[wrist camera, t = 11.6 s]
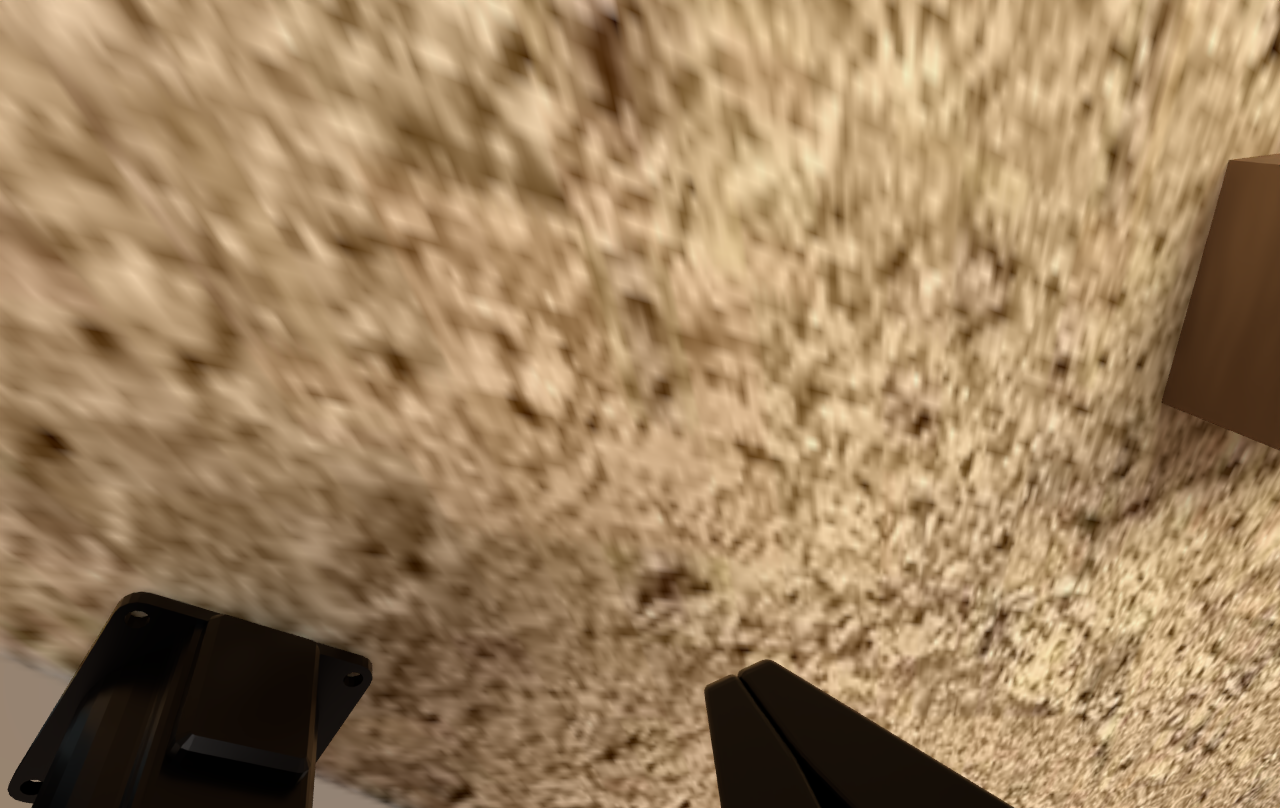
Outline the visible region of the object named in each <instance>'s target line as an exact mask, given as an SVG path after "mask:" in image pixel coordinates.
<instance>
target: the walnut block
mask: <svg viewBox="0 0 1280 808" xmlns="http://www.w3.org/2000/svg"><path fill="white" fill-rule="evenodd" d="M1162 403H1164V404H1166V405H1169V406H1171V407H1174V408H1176V409H1179V410H1181V411H1184V412H1186V413H1189V414H1191V415H1194V416H1196V417H1199V418H1201V419H1203V420H1206V421H1208V422H1211V423H1213V424H1216V425H1218V426H1221V427H1223V428H1226V429H1228V430H1231V431H1233V432H1236V433H1238V434H1241V435H1243V436H1246V437H1248V438H1250V439H1253V440H1255V441H1258V442H1260V443H1263V444H1265V445H1268V446H1270V447H1273V448H1275V449H1278V450H1280V154H1273V155H1265V156H1258V157H1250V158H1242V159H1234V160H1229V163H1228V167H1227V170H1226V174H1225V177H1224V181H1223V184H1222V188H1221V192H1220V195H1219V199H1218V202H1217V206H1216V209H1215V213H1214V217H1213V220H1212V224H1211V227H1210V231H1209V235H1208V238H1207V242H1206V245H1205V249H1204V252H1203V256H1202V260H1201V263H1200V267H1199V270H1198V274H1197V277H1196V281H1195V285H1194V288H1193V292H1192V295H1191V299H1190V303H1189V306H1188V310H1187V313H1186V317H1185V320H1184V324H1183V328H1182V331H1181V335H1180V338H1179V342H1178V345H1177V349H1176V353H1175V356H1174V360H1173V363H1172V367H1171V371H1170V374H1169V378H1168V381H1167V385H1166V388H1165V392H1164V396H1163V399H1162Z"/></svg>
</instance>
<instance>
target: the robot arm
mask: <svg viewBox="0 0 1280 808" xmlns="http://www.w3.org/2000/svg"><path fill="white" fill-rule="evenodd" d="M132 611H143V612H145V613H146V614H148V616H147V617H143V618H141V617H135V616H133V615H131V613H130V612H132ZM352 672H356V673H360V674H359V675H358V676H355V677H349V676H347V674H349V673H352ZM371 681H372V663H371V662H370V661H369V659H367V658H365V657H363V656H361V655H357V654H354V653H351V652H347V651H344V650H341V649H337V648H334V647H330V646H327V645H324V644H320V643H317V642H315V641H313V640H309V639H306V638H303V637H299V636H296V635H293V634H289V633H286V632H282V631H279V630H276V629H272V628H269V627H266V626H262V625H259V624H256V623H252V622H249V621H245V620H242V619H239V618H235V617H232V616H229V615H223V614H219V613H216V612H213V611H209V610H206V609H203V608H199V607H196V606H192V605H189V604H186V603H182V602H179V601H176V600H172V599H169V598H166V597H162V596H159V595H155V594H152V593H146V592H138V593H132V594H130V595H127V596H125V597H124V598H123V599H122V600H121V601H120V602H119V603H118V605H117V606H116V608H115V610H114V611H113V613H112V615H111V616H110V618H109V619H108V621H107V623H106V624H105V626H104V628H103V629H102V631H101V632H100V634H99V636H98V637H97V639H96V641H95V642H94V644H93V646H92V647H91V649H90V650H89V652H88V654H87V655H86V657H85V659H84V660H83V662H82V663H81V665H80V667H79V668H78V670H77V672H76V673H75V675H74V676H73V678H72V680H71V681H70V683H69V685H68V686H67V688H66V690H65V691H64V693H63V694H62V696H61V698H60V699H59V701H58V703H57V704H56V706H55V708H54V709H53V711H52V712H51V714H50V716H49V717H48V719H47V721H46V722H45V724H44V725H43V727H42V729H41V730H40V732H39V734H38V735H37V737H36V738H35V740H34V742H33V743H32V745H31V747H30V748H29V750H28V751H27V753H26V755H25V757H24V758H23V760H22V762H21V763H20V765H19V766H18V768H17V769H16V771H15V773H14V775H13V777H12V779H11V781H10V783H9V786H8V792H9V795H10V796H11V797H13V798H14V799H15V800H19V801H22V802H26V803H33V805H32V808H312V806H313V791H314V778H315V764H316V762H317V761H318V759H319V758H320V756H321V755H322V753H323V752H324V750H325V749H326V747H327V746H328V745H329V743H330V742H331V740H332V739H333V737H334V736H335V734H336V733H337V732H338V730H339V729H340V727H341V726H342V724H343V723H344V721H345V720H346V719H347V717H348V716H349V714H350V713H351V711H352V710H353V708H354V707H355V706H356V704H357V703H358V701H359V700H360V698H361V697H362V695H363V694H364V693H365V691H366V690H367V688H368V687H369V685H370V684H371ZM704 694H705V701H706V708H707V715H708V722H709V729H710V735H711V742H712V749H713V756H714V763H715V769H716V776H717V783H718V790H719V797H720V803H721V808H1014V807H1012V806H1011V805H1009V804H1007V803H1006V802H1004V801H1002V800H1001V799H999V798H998V797H996V796H994V795H993V794H991V793H989V792H988V791H986V790H984V789H983V788H981V787H979V786H978V785H976V784H975V783H973V782H971V781H970V780H968V779H966V778H965V777H963V776H961V775H960V774H958V773H956V772H955V771H953V770H952V769H950V768H948V767H947V766H945V765H943V764H942V763H940V762H938V761H937V760H935V759H933V758H932V757H930V756H929V755H927V754H925V753H924V752H922V751H920V750H919V749H917V748H915V747H914V746H912V745H910V744H909V743H907V742H906V741H904V740H902V739H901V738H899V737H897V736H896V735H894V734H892V733H891V732H889V731H887V730H886V729H884V728H883V727H881V726H879V725H878V724H876V723H874V722H873V721H871V720H869V719H868V718H866V717H864V716H863V715H861V714H860V713H858V712H856V711H855V710H853V709H851V708H850V707H848V706H846V705H845V704H843V703H841V702H840V701H838V700H837V699H835V698H833V697H832V696H830V695H828V694H827V693H825V692H823V691H822V690H820V689H818V688H817V687H815V686H814V685H812V684H810V683H809V682H807V681H805V680H804V679H802V678H800V677H799V676H797V675H796V674H794V673H792V672H791V671H789V670H787V669H786V668H784V667H782V666H781V665H779V664H777V663H776V662H774V661H772V660H767V659H765V660H762V661H759V662H757V663H755V664H753V665H751V666H748V667H746V668H744V669H742V670H740V671H739V673H738V677H737V676H736V675H728V676H726V677H724V678H722V679H720V680H717V681H715V682H713V683H711V684H709V685H707V686H706V687H705V690H704ZM31 780H39V781H42V782H33V781H31Z"/></svg>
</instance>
